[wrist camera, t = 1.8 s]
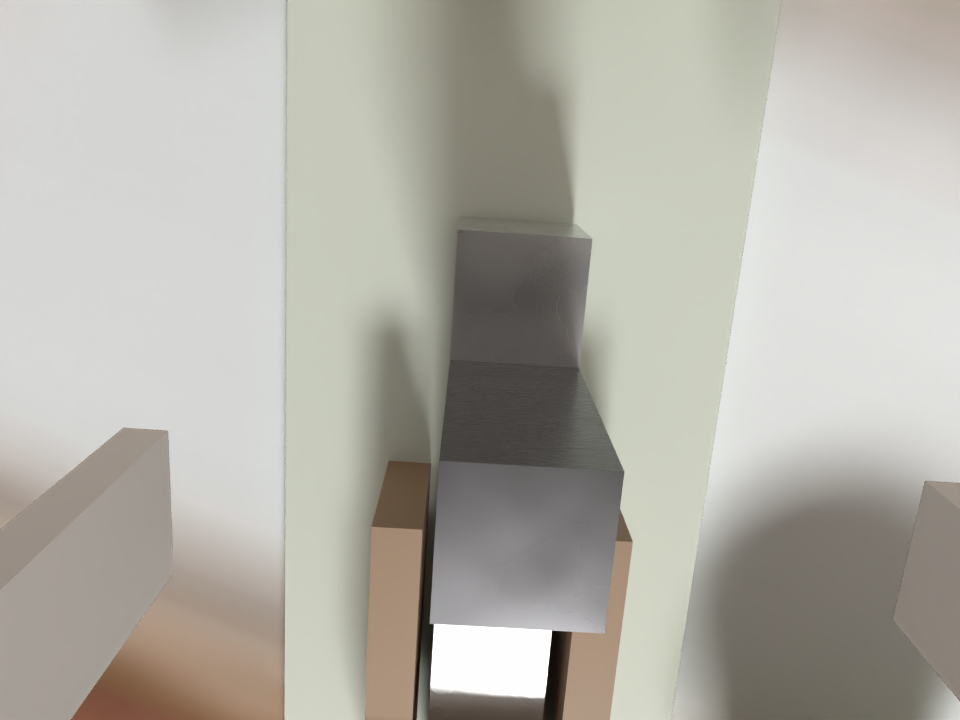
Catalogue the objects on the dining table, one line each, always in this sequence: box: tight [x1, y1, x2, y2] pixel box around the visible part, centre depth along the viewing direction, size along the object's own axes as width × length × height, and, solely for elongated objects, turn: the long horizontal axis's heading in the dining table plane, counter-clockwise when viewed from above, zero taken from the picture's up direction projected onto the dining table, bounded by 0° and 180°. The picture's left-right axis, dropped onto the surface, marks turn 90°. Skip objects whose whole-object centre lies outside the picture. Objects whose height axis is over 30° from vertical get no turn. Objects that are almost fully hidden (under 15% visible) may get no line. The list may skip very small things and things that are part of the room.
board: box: [285, 0, 782, 720], centre depth 20 cm, size 12×30×6 cm, turn 176°
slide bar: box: [428, 216, 624, 720], centre depth 19 cm, size 3×17×9 cm, turn 176°
